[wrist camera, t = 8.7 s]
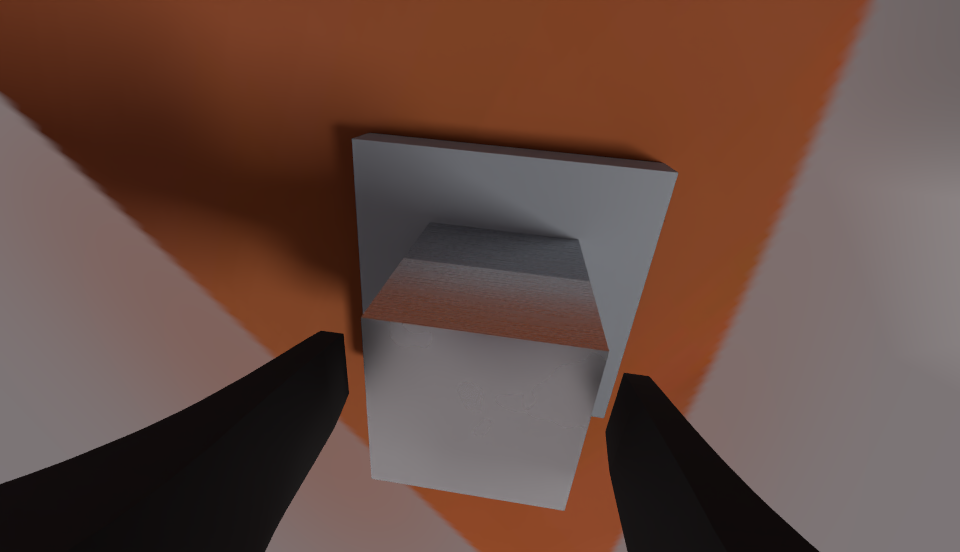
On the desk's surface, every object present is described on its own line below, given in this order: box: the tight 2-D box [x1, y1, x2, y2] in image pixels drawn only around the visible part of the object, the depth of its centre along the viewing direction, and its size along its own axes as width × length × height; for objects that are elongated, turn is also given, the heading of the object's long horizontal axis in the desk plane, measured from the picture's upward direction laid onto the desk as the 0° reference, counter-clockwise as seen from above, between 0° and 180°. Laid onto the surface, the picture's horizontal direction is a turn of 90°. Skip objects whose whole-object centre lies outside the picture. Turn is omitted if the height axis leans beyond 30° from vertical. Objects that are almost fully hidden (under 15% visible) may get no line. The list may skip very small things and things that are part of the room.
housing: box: [361, 222, 609, 511], centre depth 12 cm, size 5×5×6 cm
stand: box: [352, 133, 678, 418], centre depth 15 cm, size 10×10×2 cm
